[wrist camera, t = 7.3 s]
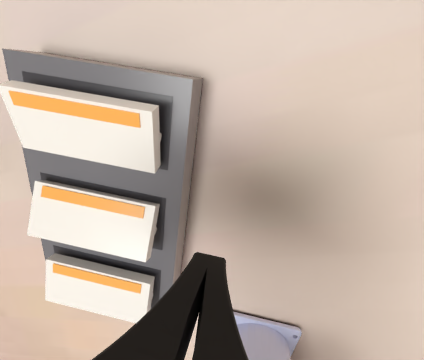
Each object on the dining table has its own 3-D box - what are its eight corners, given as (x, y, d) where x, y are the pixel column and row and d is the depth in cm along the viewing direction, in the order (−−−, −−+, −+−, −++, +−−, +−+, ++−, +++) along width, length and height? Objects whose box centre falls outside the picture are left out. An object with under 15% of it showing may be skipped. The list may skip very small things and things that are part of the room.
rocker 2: (150, 313, 21) (144, 326, 20) (56, 290, 22) (44, 301, 21) (156, 274, 20) (149, 284, 19) (57, 251, 21) (45, 259, 20)
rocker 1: (162, 162, 16) (154, 174, 15) (38, 138, 17) (22, 148, 16) (160, 103, 14) (151, 112, 13) (16, 78, 14) (-5, 85, 13)
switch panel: (178, 292, 25) (169, 319, 23) (72, 267, 26) (51, 290, 24) (203, 78, 16) (192, 79, 14) (41, 52, 17) (1, 48, 15)
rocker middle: (151, 255, 18) (145, 262, 17) (41, 230, 19) (25, 235, 17) (161, 203, 18) (155, 206, 16) (48, 180, 19) (33, 180, 17)
